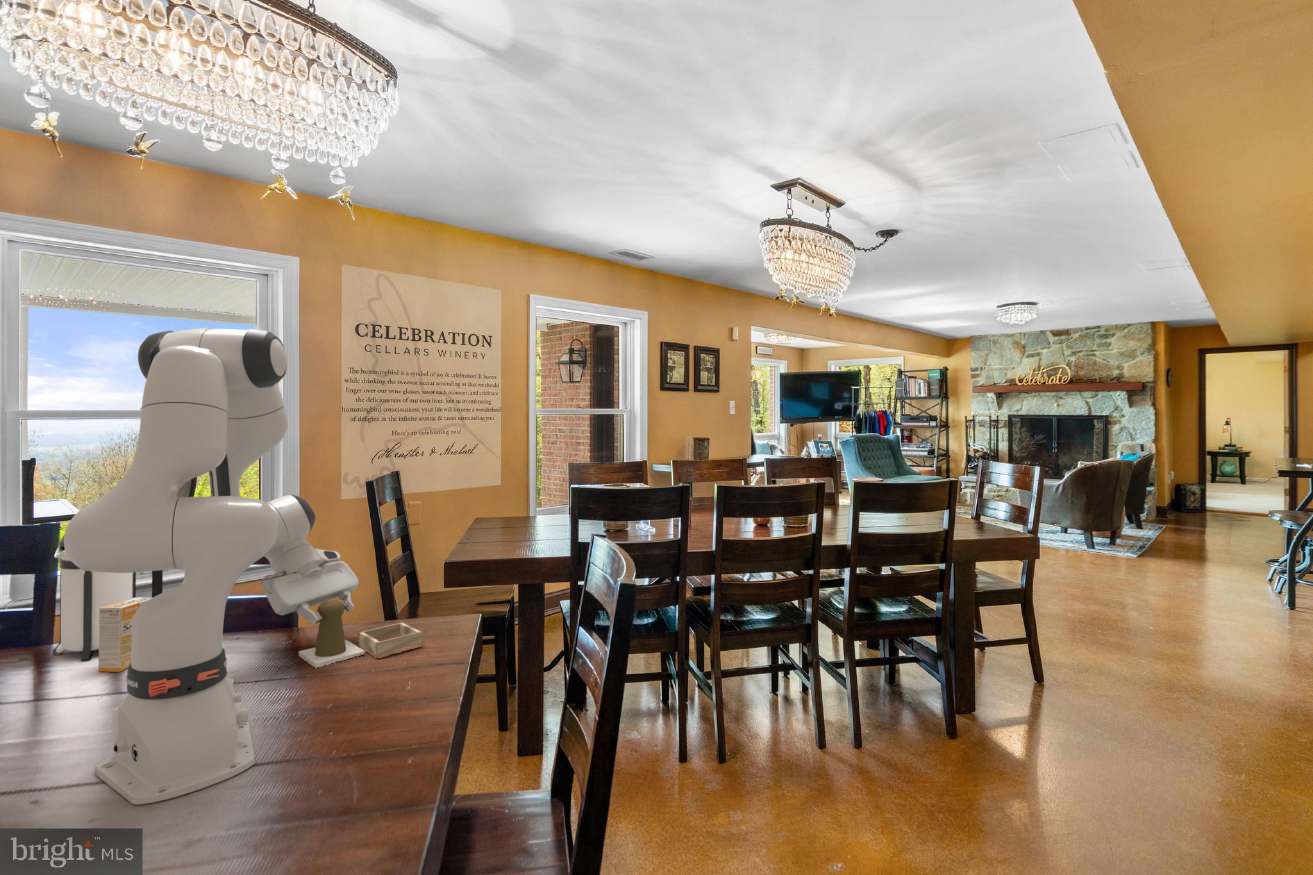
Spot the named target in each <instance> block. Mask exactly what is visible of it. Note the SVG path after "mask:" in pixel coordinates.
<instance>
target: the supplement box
mask: <svg viewBox="0 0 1313 875" xmlns="http://www.w3.org/2000/svg"><path fill="white" fill-rule="evenodd" d="M150 599H152V597H145V596H144V597H139V596H138V597H136V598H132V599H129V600H125V601H122V602H118V603H115V604H112V605H108V606H105V607H100V609H99V649H98V671H99V672H109V673H110V672H111V673H112V672H115V673H120V672H123V671H125V670H128V666H129V665H130V664H131V622H132V619H133V616H134V614H135V613H136V611H137V610H138V609H139V607H140V606H142V605H143V604H144V603H145V602H147V601H148V600H150Z"/></svg>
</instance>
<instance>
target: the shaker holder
mask: <svg viewBox="0 0 1313 875" xmlns="http://www.w3.org/2000/svg"><path fill="white" fill-rule="evenodd" d="M357 634H358V635H357V646H358V645H359V646H360V647H362V648H364V649H366V650H367V651H369V652H370V653H373V654H375V655H376V656H380V655H383V654H386V653H390V652H392V651H396V650H398V649H402V648H404V647H408V646H410V645H414V644H418V643H420V642H422V643H423V631H421V630H420V629H416V628H415V627H412V626H410V625H408V624H406V623H404V622H396V623H392V624H388V625H384V626H379V627H375V628H371V629H365V630H363V631H358V632H357ZM399 634H401V635H403V636H399V637H395V638H391V639H387V640H383V641H378V640H381V639H384V638H388V637H391V636H395V635H399Z"/></svg>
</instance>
